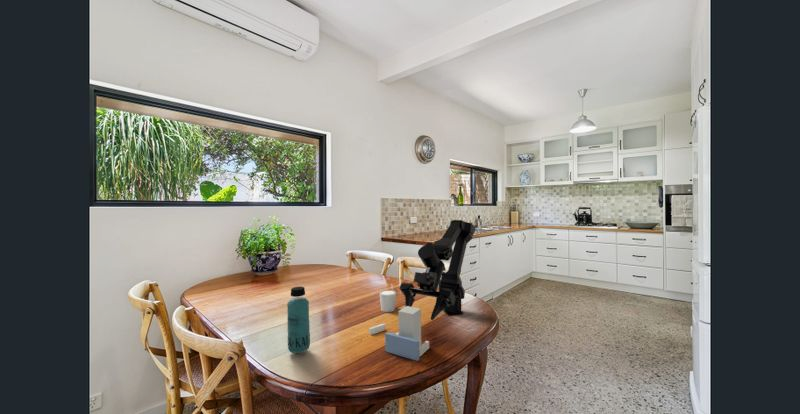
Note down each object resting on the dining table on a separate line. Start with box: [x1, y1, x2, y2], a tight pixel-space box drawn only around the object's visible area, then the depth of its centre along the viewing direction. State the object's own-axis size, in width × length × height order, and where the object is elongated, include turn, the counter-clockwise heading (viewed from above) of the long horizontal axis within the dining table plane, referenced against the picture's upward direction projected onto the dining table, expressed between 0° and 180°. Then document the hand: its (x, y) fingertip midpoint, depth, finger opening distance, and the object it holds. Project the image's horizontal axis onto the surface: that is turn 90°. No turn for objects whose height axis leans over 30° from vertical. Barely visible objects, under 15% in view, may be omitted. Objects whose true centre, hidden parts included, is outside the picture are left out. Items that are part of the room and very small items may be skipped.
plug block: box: [397, 306, 422, 347], centre depth 99 cm, size 5×5×12 cm
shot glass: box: [379, 289, 397, 313], centre depth 132 cm, size 7×7×7 cm
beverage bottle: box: [286, 286, 311, 354], centre depth 97 cm, size 6×7×20 cm
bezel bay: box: [384, 332, 430, 362], centre depth 98 cm, size 8×11×6 cm
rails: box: [368, 323, 399, 336], centre depth 108 cm, size 6×10×2 cm, turn 39°
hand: (418, 316), depth 104 cm, fingers open, 9 cm apart
